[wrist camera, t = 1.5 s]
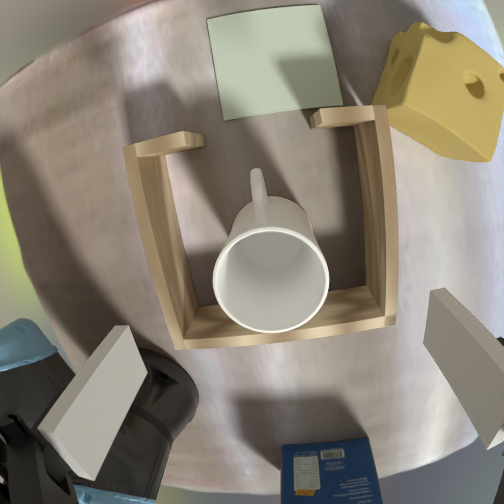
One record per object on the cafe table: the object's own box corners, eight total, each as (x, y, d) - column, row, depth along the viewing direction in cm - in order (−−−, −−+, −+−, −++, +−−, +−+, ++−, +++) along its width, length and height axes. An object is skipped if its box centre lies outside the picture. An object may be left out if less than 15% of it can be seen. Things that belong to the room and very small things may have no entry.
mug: (224, 167, 30) (194, 178, 19) (309, 161, 29) (330, 167, 18) (235, 276, 34) (217, 338, 22) (313, 271, 33) (331, 332, 22)
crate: (191, 315, 36) (175, 349, 29) (152, 146, 30) (122, 147, 23) (375, 293, 33) (395, 324, 27) (362, 114, 27) (385, 105, 21)
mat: (224, 120, 28) (223, 120, 28) (207, 20, 25) (206, 19, 24) (342, 105, 27) (343, 105, 27) (319, 6, 23) (320, 4, 23)
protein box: (359, 465, 45) (370, 529, 31) (280, 471, 47) (278, 538, 32) (370, 436, 42) (387, 509, 27) (280, 443, 43) (279, 522, 29)
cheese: (389, 39, 24) (427, 5, 15) (465, 87, 25) (517, 76, 15) (361, 116, 27) (398, 103, 18) (441, 162, 28) (495, 171, 18)
